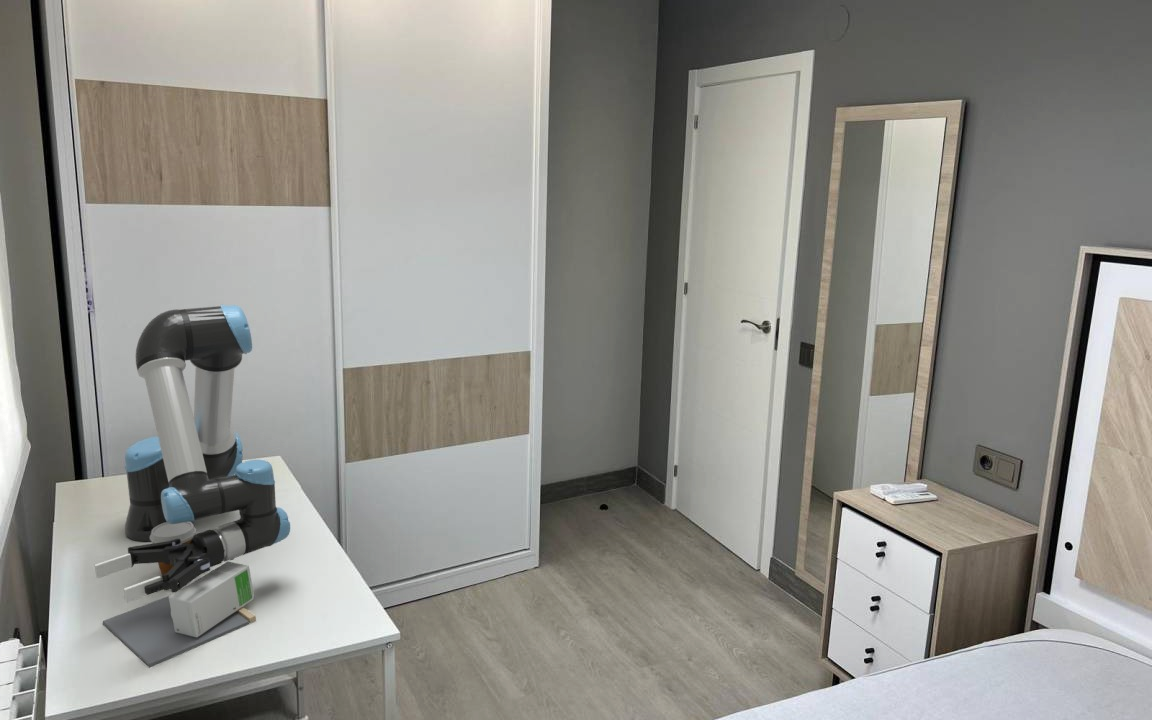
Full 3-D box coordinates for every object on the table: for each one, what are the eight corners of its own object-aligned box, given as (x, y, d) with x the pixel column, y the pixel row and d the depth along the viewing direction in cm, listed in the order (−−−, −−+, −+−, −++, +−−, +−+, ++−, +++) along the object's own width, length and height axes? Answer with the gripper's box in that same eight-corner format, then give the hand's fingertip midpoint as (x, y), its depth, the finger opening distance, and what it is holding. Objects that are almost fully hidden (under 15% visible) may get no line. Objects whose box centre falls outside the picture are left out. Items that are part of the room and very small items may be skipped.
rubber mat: (103, 623, 172) (102, 618, 171) (205, 584, 187) (204, 579, 187) (149, 667, 158) (149, 661, 157) (256, 620, 174) (255, 615, 173)
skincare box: (255, 598, 179) (198, 640, 165) (232, 593, 182) (174, 634, 168) (249, 563, 177) (190, 603, 163) (225, 559, 179) (166, 597, 166)
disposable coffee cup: (155, 591, 184) (149, 541, 181) (154, 571, 193) (148, 524, 190) (202, 581, 189) (197, 533, 186) (199, 563, 197) (194, 516, 194)
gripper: (249, 581, 169) (140, 625, 153) (190, 543, 184) (87, 579, 169) (246, 548, 167) (136, 588, 151) (187, 512, 183) (82, 545, 167)
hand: (110, 583), depth 160 cm, fingers open, 13 cm apart
